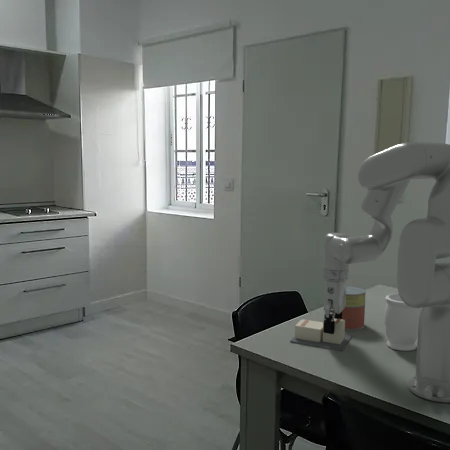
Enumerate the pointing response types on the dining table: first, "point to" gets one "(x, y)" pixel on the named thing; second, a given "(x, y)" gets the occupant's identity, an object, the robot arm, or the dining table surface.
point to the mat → (324, 343)
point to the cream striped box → (309, 330)
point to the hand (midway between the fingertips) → (332, 328)
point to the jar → (401, 323)
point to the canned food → (354, 308)
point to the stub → (335, 332)
